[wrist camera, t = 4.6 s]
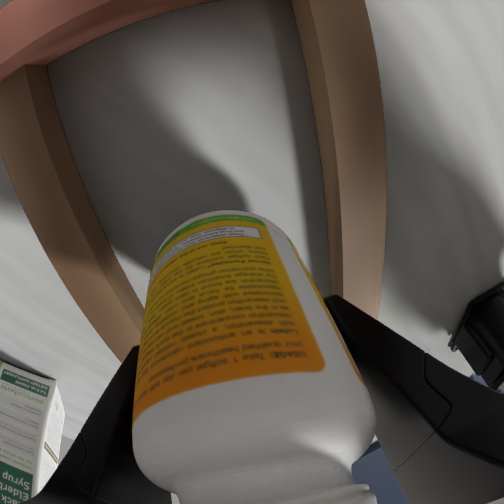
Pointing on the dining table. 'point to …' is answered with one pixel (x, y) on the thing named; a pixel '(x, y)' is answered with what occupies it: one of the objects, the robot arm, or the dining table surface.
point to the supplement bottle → (245, 373)
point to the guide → (74, 194)
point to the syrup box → (27, 433)
